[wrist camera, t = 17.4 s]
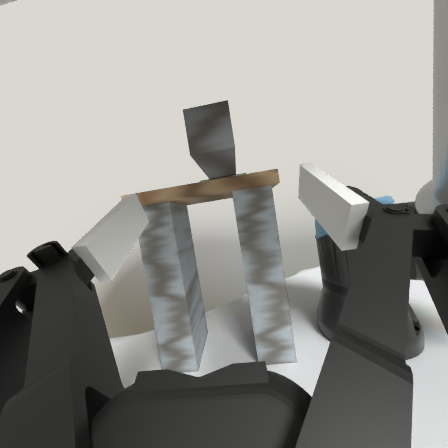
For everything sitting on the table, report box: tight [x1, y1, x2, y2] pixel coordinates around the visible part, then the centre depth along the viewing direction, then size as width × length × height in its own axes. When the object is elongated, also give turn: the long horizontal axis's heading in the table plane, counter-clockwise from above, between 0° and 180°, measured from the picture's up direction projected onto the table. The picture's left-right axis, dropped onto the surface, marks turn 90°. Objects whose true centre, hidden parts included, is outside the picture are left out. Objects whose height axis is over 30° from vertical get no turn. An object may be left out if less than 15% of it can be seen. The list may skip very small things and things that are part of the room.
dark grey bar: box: [183, 101, 236, 179], centre depth 31 cm, size 4×30×4 cm, turn 176°
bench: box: [121, 169, 297, 372], centre depth 34 cm, size 24×12×30 cm, turn 86°
